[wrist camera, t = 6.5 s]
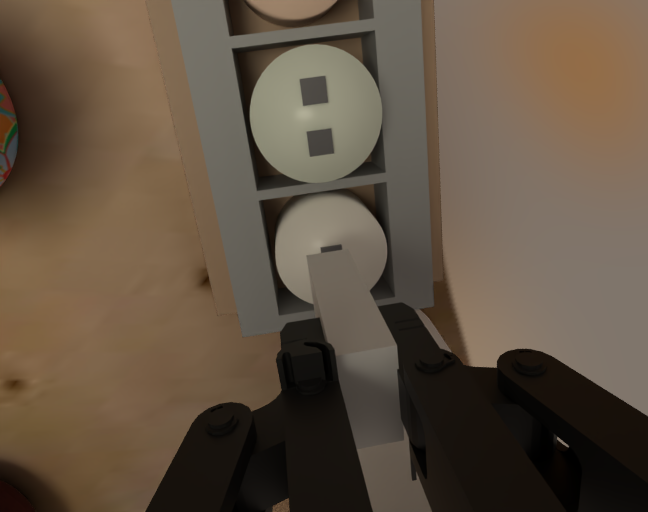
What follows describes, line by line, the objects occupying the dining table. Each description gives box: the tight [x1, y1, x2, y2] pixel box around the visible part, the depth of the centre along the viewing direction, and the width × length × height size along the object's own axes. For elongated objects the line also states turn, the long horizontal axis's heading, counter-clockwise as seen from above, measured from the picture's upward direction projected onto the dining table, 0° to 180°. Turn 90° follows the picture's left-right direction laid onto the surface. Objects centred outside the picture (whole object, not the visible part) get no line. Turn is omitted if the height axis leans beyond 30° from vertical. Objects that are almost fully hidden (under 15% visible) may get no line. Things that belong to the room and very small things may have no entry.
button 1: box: [275, 188, 387, 304], centre depth 21 cm, size 5×5×3 cm
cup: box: [357, 309, 451, 512], centre depth 20 cm, size 8×8×16 cm
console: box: [145, 0, 443, 337], centre depth 20 cm, size 12×19×4 cm, turn 7°
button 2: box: [250, 44, 382, 183], centre depth 18 cm, size 5×5×3 cm
